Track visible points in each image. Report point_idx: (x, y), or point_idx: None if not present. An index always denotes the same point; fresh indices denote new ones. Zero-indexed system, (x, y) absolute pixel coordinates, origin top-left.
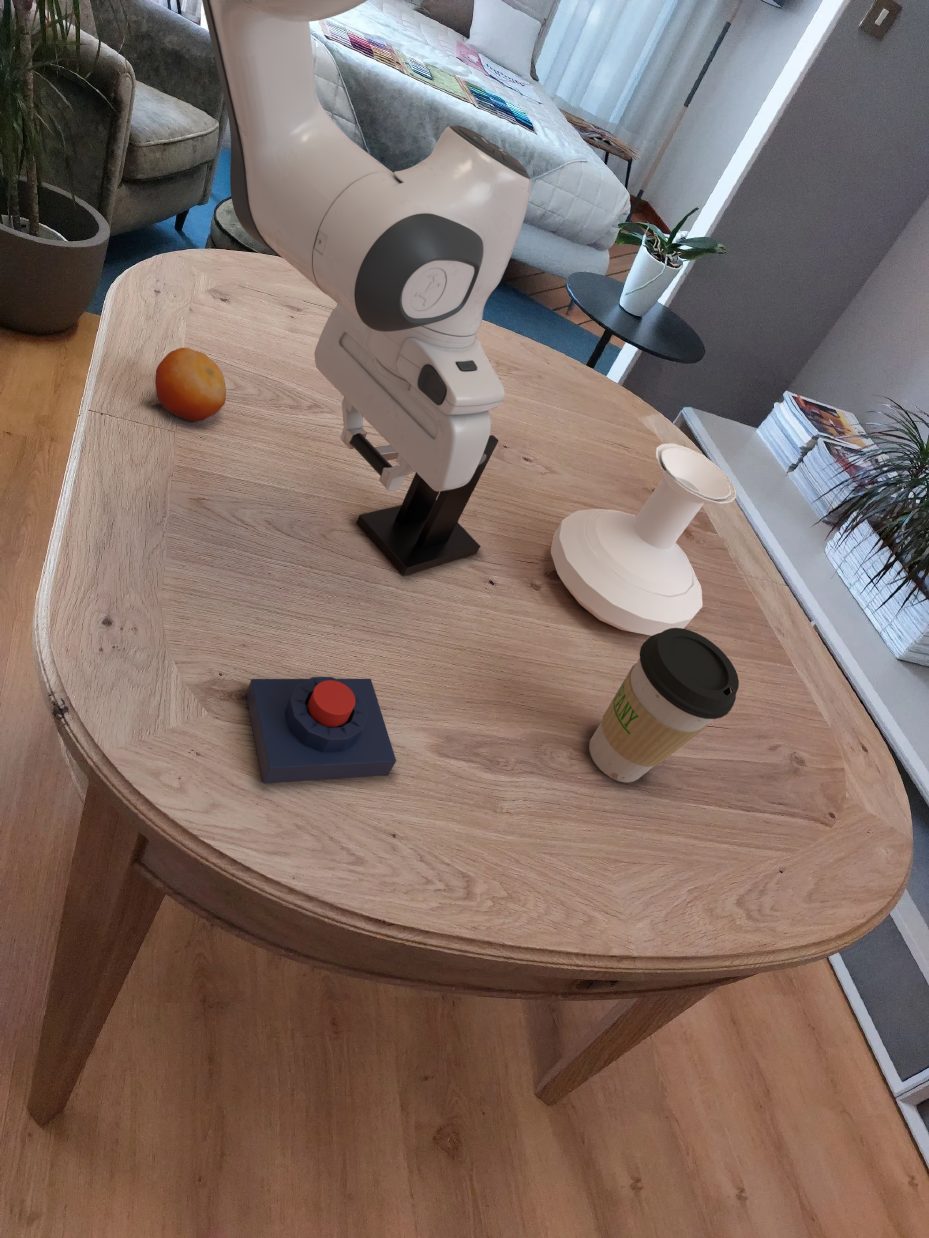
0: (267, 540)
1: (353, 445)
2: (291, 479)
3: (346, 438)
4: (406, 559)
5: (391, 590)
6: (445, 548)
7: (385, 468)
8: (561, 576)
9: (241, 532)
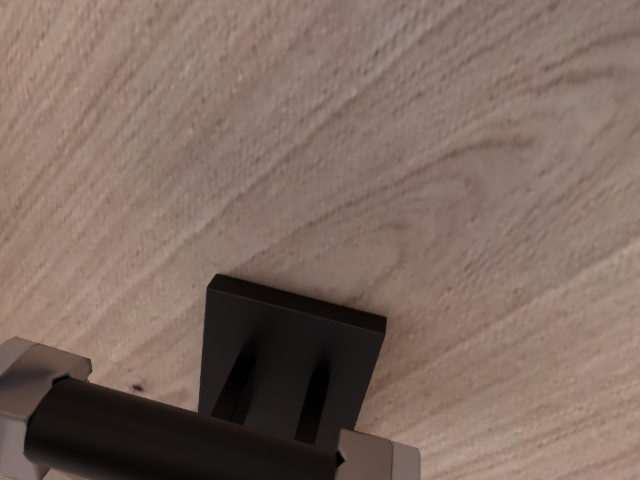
0: (476, 86)
1: (305, 451)
2: (587, 312)
3: (374, 467)
4: (227, 306)
5: (195, 221)
6: (218, 390)
7: (16, 423)
8: (53, 474)
9: (547, 40)
